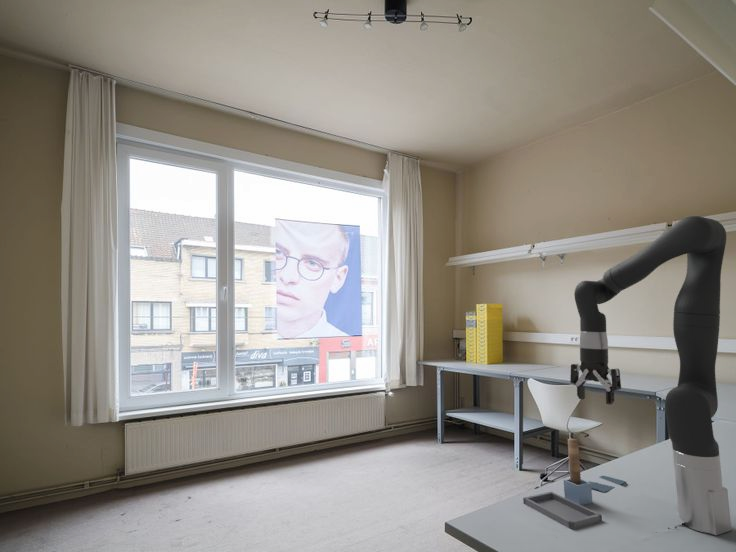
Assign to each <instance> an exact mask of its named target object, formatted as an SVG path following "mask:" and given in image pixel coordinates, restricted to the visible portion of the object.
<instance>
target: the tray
mask: <svg viewBox="0 0 736 552" xmlns="http://www.w3.org/2000/svg"><path fill="white" fill-rule="evenodd" d="M522 501H523V502H522V503H523V504H524V505H525V506H527V507H529V508H531V509H532V510H534V511H537V512H539V513H541V514H542V515H544V516H547V517H548V518H550V519H552V521H553V520H554V521H556V522H557V523H559V524H561V525H563V526H564V527H566V528H568V529H570V530H575V529H578V528H582V527H586V526H589V525H590V526H591V525H594V524H596V523H600V522H603V515H602V514H601V513H598V512H596V511H594V510H592V509H590V508H588V507H585V506H584V505H579V504H577V503H575V502H573V501H571V500H569V499H566V498H565V496H562V495H561V494H558V493H557V492H556V493H555V492H553V491H548V492H544V493H538V494H535V495H529V496H525V497H523V498H522Z"/></svg>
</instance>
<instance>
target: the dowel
mask: <svg viewBox="0 0 736 552" xmlns="http://www.w3.org/2000/svg"><path fill="white" fill-rule="evenodd" d="M567 449H568V463H569V464H568V467H569V477H570V478H569V479H570V482H572V483H574V484H577V485H580V484H581V479H582V478H581V465H580V451H579V440H578V439H577V438H567Z"/></svg>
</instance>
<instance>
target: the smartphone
mask: <svg viewBox="0 0 736 552" xmlns="http://www.w3.org/2000/svg"><path fill="white" fill-rule="evenodd" d="M598 478H600V479H602V480H605V481H608V482H610V483H612V484H616V485H619V486H621V487H626V486H627V485H628V484H627V481H625V480H622V479H619V478H615V477H610V476H606V475H601V476H599V477H598ZM588 482H590V483H591V489H592V491H595V492H599V493H603V494H607V493H609V492H610V491H612V490H613V489H615V488H616V487H615V486H612V485H607V484H602V483H599V482H595V481H589V480H588Z"/></svg>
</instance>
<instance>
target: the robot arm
mask: <svg viewBox="0 0 736 552" xmlns="http://www.w3.org/2000/svg"><path fill="white" fill-rule="evenodd" d="M726 244H727V231H726V228H725V227H724V225H723V224H722V223H721V222H719V221H718V220H716V219H713V218H709V217H704V216H699V215H697V216H695V215H693V216H687V217H684V218H683V219H680V220H679V221H677V222H676V223H675V224H674V225H672V226H671V227H670V228H669V229H667V230H666V231H665V232H664V233H662V234H661V235H660V236H659V237H658V238H656V239H655V240H654V241H652V242H650V243H649V244H648V245H647V246H646V247H644V248H643V249H641V250H639V251H638V252H637V253H635V254H633V255H632V256H630V257H628V258H627V259H624V260H623V261H621V262H619V263H618V264H615V265H614V266H612V267H610V268H609V269H607V270H606V271H605V272H604V273H603V276H602V278H601V279H598V280H597V281H596V280H593V281H592V280H582V281H580V282H579V283H578V284H576V286H575V289H574V300H575V306H576V309H577V313H578V315H579V321H580V322H579V323H580V324H579V325H580V326H579V327H580V329H579V330H580V333H579V334H580V335H579V358H580V359H579V360H580V364H579V363H574V364H573V363H572V364H571V365H570V378H569V379H570V384H572V385H574V386H576V395H577V397H578V399H579V400H585V399H586V390H585V384H586V383H587V382H590V381H593V382H597V383H598V382H599V383H600V384H601V386H603V387H604V389H605V390H606V391H605V403H606V405H609V406H610V405H613V404H614V402H615V391H619V390H621V389H622V383H621V371H620V369H619V368H610V367H609V341H608V334H607V318H606V315H605V314H604V313H603V312H601V311H600V310H599V306H598V305H602V304H605V303H607V302H609V301H610V300H612V299H614V298H615V297H616V296H617V295H618V294H620V293H621V292H622V291H624V290H626V289H629V288H630V287H632V286H634V285H636V284H637V283H640V282H641V281H642V280H644V279H646V278H647V277H648V276H649V275H651V274H652V272H654V271H655V270H656V269H658V268H659V267H660V266H661V265H664V264H665V263H666V262H669V261H670V260H673V259H676V258H677V257H681V256H683V255H686V257H687V259H686V260H687V263H686V264H687V265H686V275H685V279H684V281H683V284H682V286H681V288H680V290H679V292H678V295H677V296H676V299H675V302H674V306H673V307H674V308H673V319H672V320H673V321H672V322H673V324H672V325H673V328H672V329H673V337H674V342H675V345H676V349H677V353H678V357H679V374H678V381H677V386H676V387H674V388H672V389H670V390H669V391H668V393H667V394H666V396H665V401H664V408H665V409H664V410H665V419H666V426H667V432H668V437H669V439H670V441H671V446H672V447H671V448H672V457H673V468H674V478H675V479H674V480H675V488H676V489H675V490H676V499H677V500H676V501H677V508H678V510H677V511H678V518H679V519H680V521H682V523H681V524H682V525H683V526H684V527H687V528H688V529H691V530H694V531H698V532H701V533H706V534H710V535H713V536H718V535H722V534H725V533H728V532H731V531H732V520H731V512H730V511H731V510H730V501H729V493H728V492H729V491H728V488H727V487H725V486H723V478H722V465H721V456H720V446H719V443H718V441H717V440H716V439H715V436H714V429H713V421H712V420H713V419H712V418H713V417H714V416H715V415H716V413H717V411H718V407H719V402H718V401H719V400H718V399H719V398H718V392H717V390H718V389H717V382H716V381H717V379H716V378H717V377H716V364H717V363H716V362H717V355H718V347H719V335H720V326H721V325H720V321H721V288H722V287H721V285H722V284H721V278H722V277H721V276H722V266H723V261H724V256H725V251H726V250H725V249H726V246H727V245H726ZM580 372H581V374H580ZM608 375H610V377H611V379H610V378H609V376H608Z"/></svg>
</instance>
